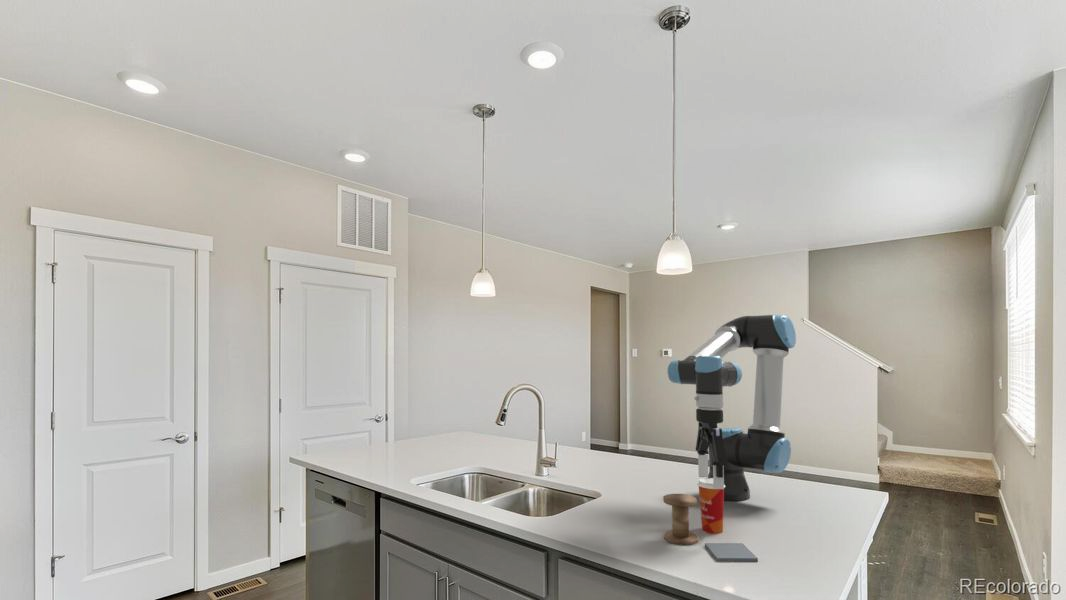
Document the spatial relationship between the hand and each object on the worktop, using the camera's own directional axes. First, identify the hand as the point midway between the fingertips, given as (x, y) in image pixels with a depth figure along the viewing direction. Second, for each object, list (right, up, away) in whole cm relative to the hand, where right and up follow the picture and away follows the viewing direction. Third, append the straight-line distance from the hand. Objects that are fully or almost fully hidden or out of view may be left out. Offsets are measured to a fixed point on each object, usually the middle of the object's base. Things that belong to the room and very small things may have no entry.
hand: (710, 482), depth 156 cm
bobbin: (-11, -13, -8) cm, 19 cm away
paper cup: (0, -14, -1) cm, 14 cm away
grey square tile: (-1, -12, -18) cm, 22 cm away
